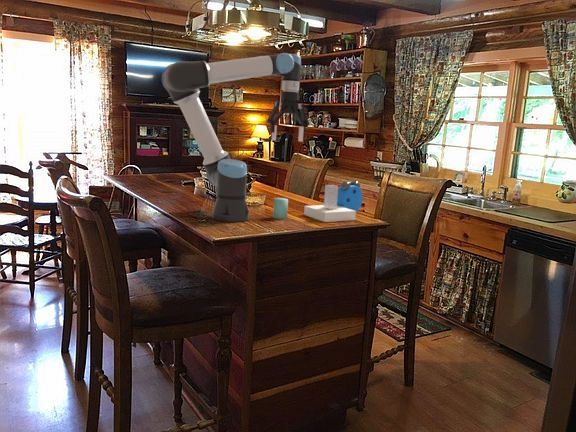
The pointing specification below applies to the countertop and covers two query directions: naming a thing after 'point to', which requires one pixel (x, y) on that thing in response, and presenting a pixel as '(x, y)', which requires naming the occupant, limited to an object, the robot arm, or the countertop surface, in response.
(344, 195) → the alarm clock
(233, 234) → the countertop surface
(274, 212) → the pale teal capsule
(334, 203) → the square bit
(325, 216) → the bore block
